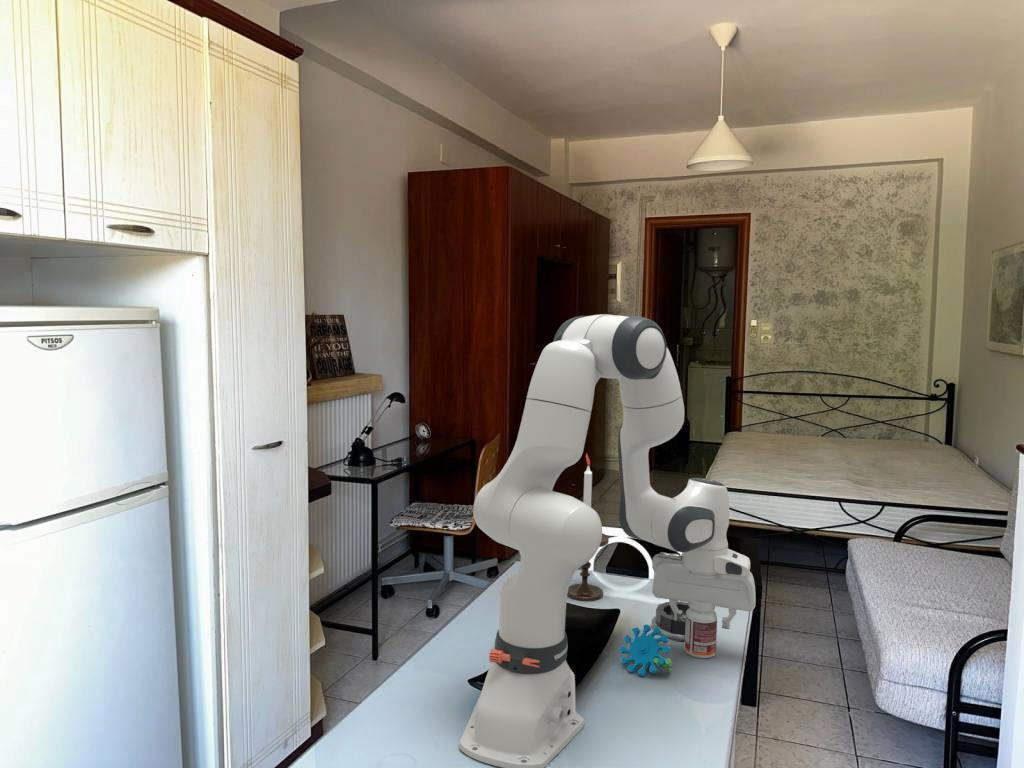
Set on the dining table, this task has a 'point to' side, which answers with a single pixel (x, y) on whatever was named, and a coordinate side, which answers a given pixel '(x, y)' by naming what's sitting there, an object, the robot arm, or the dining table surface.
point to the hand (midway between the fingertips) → (701, 624)
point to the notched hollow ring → (670, 621)
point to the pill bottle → (700, 629)
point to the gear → (646, 651)
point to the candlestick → (584, 589)
